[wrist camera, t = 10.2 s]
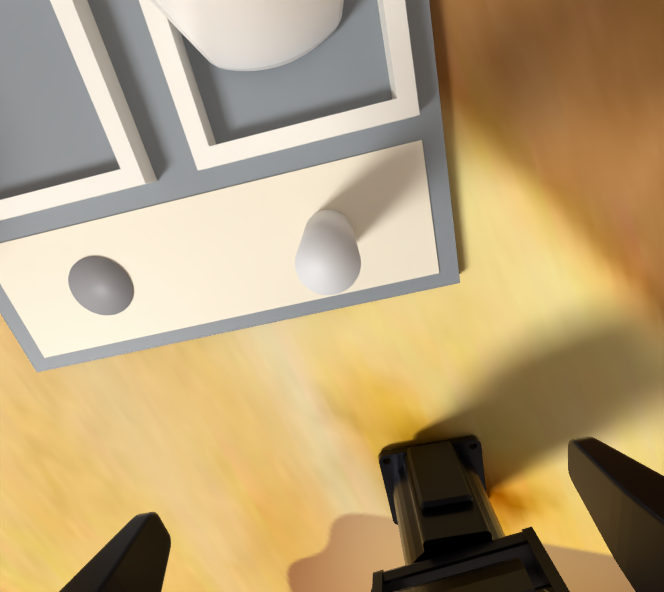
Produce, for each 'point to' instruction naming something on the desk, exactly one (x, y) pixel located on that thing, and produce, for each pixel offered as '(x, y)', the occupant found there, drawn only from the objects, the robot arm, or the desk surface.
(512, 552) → the robot arm
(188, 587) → the desk surface
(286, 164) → the board
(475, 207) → the desk surface
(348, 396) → the desk surface
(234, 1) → the white bottle
